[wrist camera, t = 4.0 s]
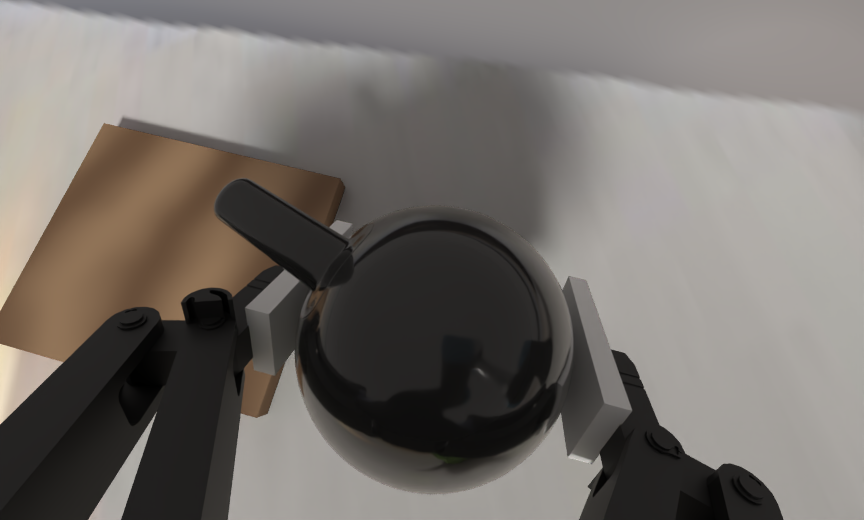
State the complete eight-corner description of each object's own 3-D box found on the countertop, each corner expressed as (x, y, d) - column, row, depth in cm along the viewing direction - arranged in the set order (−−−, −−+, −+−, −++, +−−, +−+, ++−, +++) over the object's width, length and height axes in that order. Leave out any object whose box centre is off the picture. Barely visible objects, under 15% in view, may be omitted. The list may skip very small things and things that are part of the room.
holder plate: (345, 187, 23) (340, 178, 21) (267, 413, 19) (256, 417, 18) (120, 134, 24) (104, 123, 23) (10, 339, 20) (-16, 339, 19)
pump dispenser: (408, 225, 22) (353, -27, 7) (555, 317, 20) (863, 237, 6) (307, 367, 20) (-57, 420, 5) (462, 480, 18) (570, 1006, 4)
